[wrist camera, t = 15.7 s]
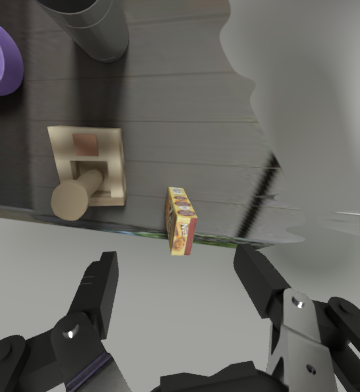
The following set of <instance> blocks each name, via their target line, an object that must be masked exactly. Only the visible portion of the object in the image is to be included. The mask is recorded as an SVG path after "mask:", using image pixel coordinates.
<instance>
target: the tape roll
mask: <svg viewBox="0 0 360 392" xmlns="http://www.w3.org/2000/svg"><path fill="white" fill-rule="evenodd" d="M23 74H24V66H23V61H22V57H21V54H20V52H19V49H18V47H17V46H16V44H15V42H14V41H13V39H12V38H11V37H10V36H9V34H8V33H7V32H6V31H5V30H4V29H3V28H2V27H1V26H0V96H4V95H8V94H10V93H12V92H14V91H15V90H16V89H17V88H18V87H19V86H20V84H21V82H22V79H23Z"/></svg>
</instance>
